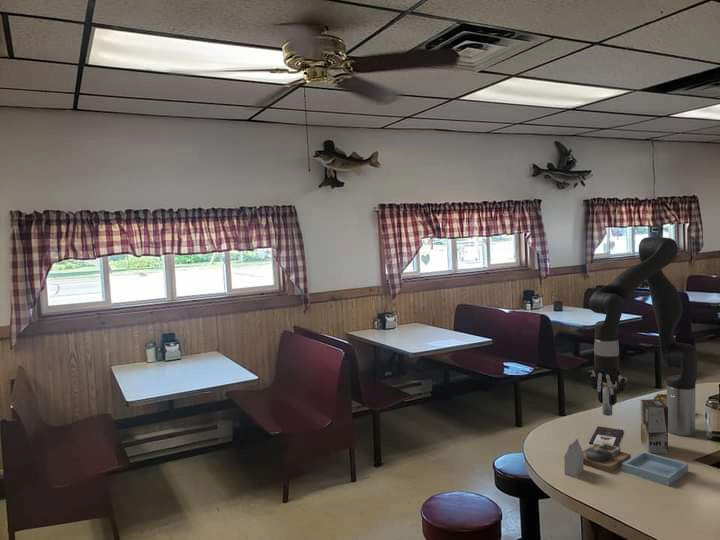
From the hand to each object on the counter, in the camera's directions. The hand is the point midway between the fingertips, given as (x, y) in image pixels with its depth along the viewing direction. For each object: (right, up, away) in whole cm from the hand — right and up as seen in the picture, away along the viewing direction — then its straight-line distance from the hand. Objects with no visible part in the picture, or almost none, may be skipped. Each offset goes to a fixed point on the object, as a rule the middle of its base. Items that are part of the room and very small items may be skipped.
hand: (607, 403), depth 184 cm
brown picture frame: (+8, -18, +19) cm, 27 cm away
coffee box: (+20, -18, +7) cm, 27 cm away
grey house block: (-14, -20, -8) cm, 26 cm away
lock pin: (0, -4, 0) cm, 4 cm away
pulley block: (-2, -19, -1) cm, 19 cm away
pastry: (+45, -14, +42) cm, 63 cm away
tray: (+11, -19, -10) cm, 24 cm away
